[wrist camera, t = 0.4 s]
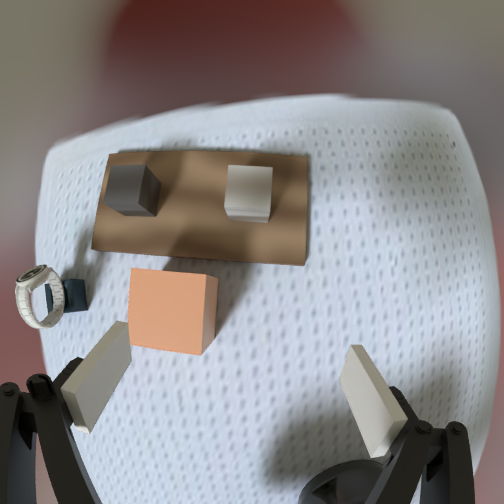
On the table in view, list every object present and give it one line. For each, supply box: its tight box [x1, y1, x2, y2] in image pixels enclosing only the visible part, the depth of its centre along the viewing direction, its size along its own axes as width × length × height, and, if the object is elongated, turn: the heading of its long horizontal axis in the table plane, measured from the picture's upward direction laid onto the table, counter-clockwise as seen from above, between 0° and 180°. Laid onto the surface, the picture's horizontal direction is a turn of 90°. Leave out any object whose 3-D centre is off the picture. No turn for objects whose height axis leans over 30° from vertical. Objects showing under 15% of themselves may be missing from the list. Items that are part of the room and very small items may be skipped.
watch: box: [15, 265, 88, 329], centre depth 29 cm, size 6×8×11 cm
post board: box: [91, 151, 308, 266], centre depth 32 cm, size 14×28×8 cm, turn 86°
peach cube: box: [128, 268, 219, 355], centre depth 30 cm, size 8×8×9 cm
